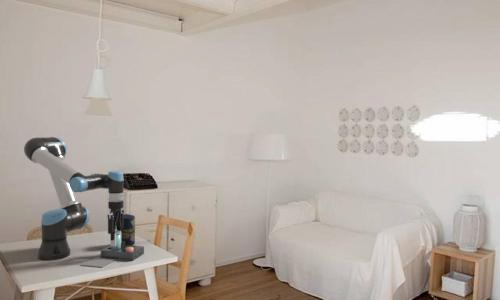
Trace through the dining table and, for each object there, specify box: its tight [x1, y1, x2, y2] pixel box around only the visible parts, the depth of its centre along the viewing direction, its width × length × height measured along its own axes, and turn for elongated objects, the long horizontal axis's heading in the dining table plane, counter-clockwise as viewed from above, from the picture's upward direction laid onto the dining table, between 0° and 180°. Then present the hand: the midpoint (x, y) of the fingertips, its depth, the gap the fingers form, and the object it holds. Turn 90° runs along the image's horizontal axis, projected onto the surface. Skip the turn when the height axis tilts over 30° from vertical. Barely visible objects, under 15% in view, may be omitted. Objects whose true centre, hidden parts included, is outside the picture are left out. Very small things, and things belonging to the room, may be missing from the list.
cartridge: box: [111, 231, 121, 250], centre depth 213 cm, size 5×5×12 cm
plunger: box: [126, 247, 134, 252], centre depth 209 cm, size 4×4×4 cm
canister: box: [121, 213, 136, 246], centre depth 231 cm, size 10×10×18 cm
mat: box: [79, 256, 117, 268], centre depth 201 cm, size 12×12×1 cm
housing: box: [100, 244, 145, 262], centre depth 212 cm, size 18×12×4 cm, turn 78°
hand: (115, 244), depth 213 cm, fingers closed on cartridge, 5 cm apart
